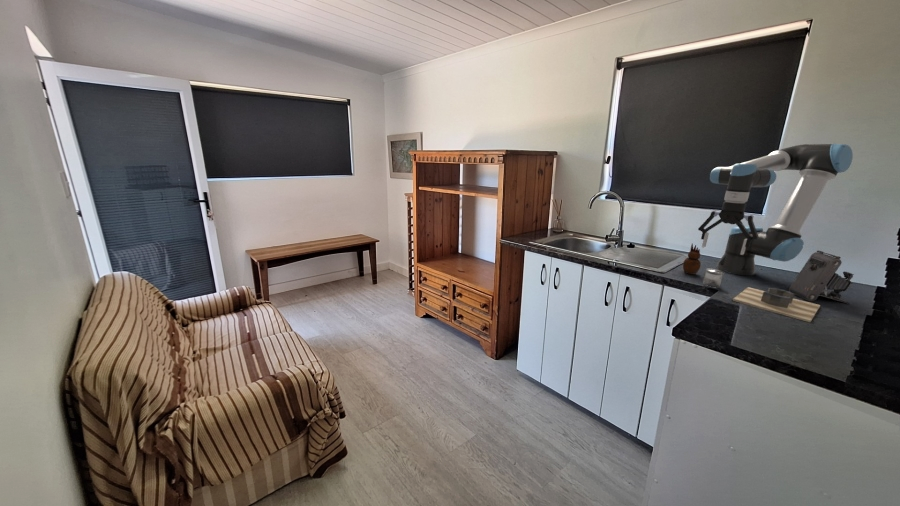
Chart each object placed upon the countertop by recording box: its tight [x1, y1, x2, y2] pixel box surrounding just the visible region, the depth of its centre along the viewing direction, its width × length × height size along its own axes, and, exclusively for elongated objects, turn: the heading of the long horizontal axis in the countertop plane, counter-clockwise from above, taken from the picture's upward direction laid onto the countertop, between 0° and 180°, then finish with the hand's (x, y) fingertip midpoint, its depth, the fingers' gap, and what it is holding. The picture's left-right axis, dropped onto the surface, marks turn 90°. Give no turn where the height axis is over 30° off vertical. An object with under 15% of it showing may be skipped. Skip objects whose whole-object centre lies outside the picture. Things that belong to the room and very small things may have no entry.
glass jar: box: [702, 267, 725, 289], centre depth 149 cm, size 6×6×7 cm
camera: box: [788, 250, 855, 305], centre depth 137 cm, size 11×17×20 cm, turn 79°
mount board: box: [732, 286, 821, 323], centre depth 132 cm, size 22×22×1 cm
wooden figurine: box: [682, 243, 702, 275], centre depth 163 cm, size 7×6×15 cm
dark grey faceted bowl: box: [761, 286, 796, 308], centre depth 131 cm, size 11×8×4 cm
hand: (722, 250), depth 145 cm, fingers open, 13 cm apart
